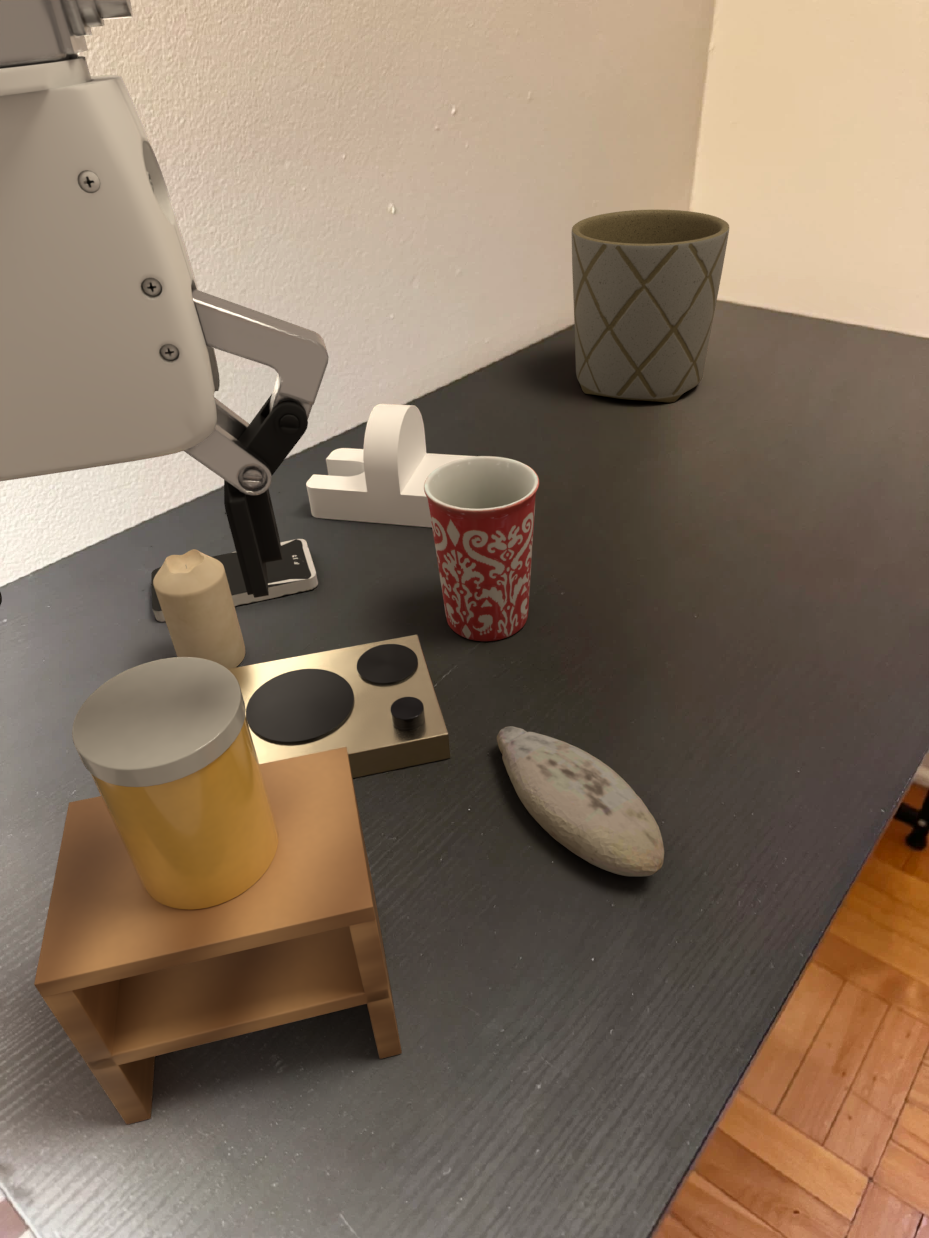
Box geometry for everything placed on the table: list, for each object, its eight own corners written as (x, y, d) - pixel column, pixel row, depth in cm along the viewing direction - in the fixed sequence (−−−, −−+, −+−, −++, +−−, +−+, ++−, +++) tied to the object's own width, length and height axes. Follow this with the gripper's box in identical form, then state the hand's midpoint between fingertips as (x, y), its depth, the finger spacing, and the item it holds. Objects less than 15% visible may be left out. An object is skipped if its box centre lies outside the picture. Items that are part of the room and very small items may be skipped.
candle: (167, 673, 70) (133, 574, 64) (202, 634, 75) (173, 537, 69) (225, 683, 69) (195, 583, 63) (258, 643, 73) (232, 545, 67)
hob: (226, 804, 59) (214, 767, 56) (225, 693, 68) (215, 658, 66) (450, 758, 61) (447, 721, 59) (420, 657, 70) (416, 622, 68)
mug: (508, 661, 69) (504, 519, 61) (416, 631, 73) (401, 493, 65) (573, 584, 78) (577, 450, 70) (487, 560, 82) (482, 431, 74)
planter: (590, 353, 126) (595, 207, 114) (720, 364, 119) (740, 211, 108) (550, 401, 112) (551, 241, 100) (695, 417, 106) (715, 248, 94)
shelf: (126, 1125, 42) (33, 984, 34) (141, 948, 50) (68, 801, 42) (402, 1053, 44) (373, 906, 36) (374, 895, 52) (346, 746, 44)
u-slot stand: (470, 530, 86) (465, 432, 80) (308, 517, 90) (290, 422, 84) (491, 486, 94) (487, 393, 87) (339, 476, 98) (326, 386, 91)
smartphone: (151, 569, 81) (305, 537, 84) (155, 580, 82) (307, 548, 85) (152, 612, 75) (317, 577, 79) (156, 624, 76) (319, 588, 79)
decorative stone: (532, 728, 63) (532, 694, 61) (694, 860, 53) (700, 824, 51) (467, 767, 60) (465, 733, 58) (625, 914, 50) (628, 879, 48)
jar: (130, 927, 36) (59, 785, 31) (142, 812, 41) (83, 672, 36) (284, 893, 37) (242, 749, 32) (277, 784, 42) (239, 644, 37)
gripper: (264, 0, 25) (348, 513, 35) (-399, 51, 22) (-99, 587, 32) (277, -3, 19) (374, 615, 29) (-627, 66, 16) (-171, 717, 26)
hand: (124, 600), depth 31 cm, fingers open, 9 cm apart
